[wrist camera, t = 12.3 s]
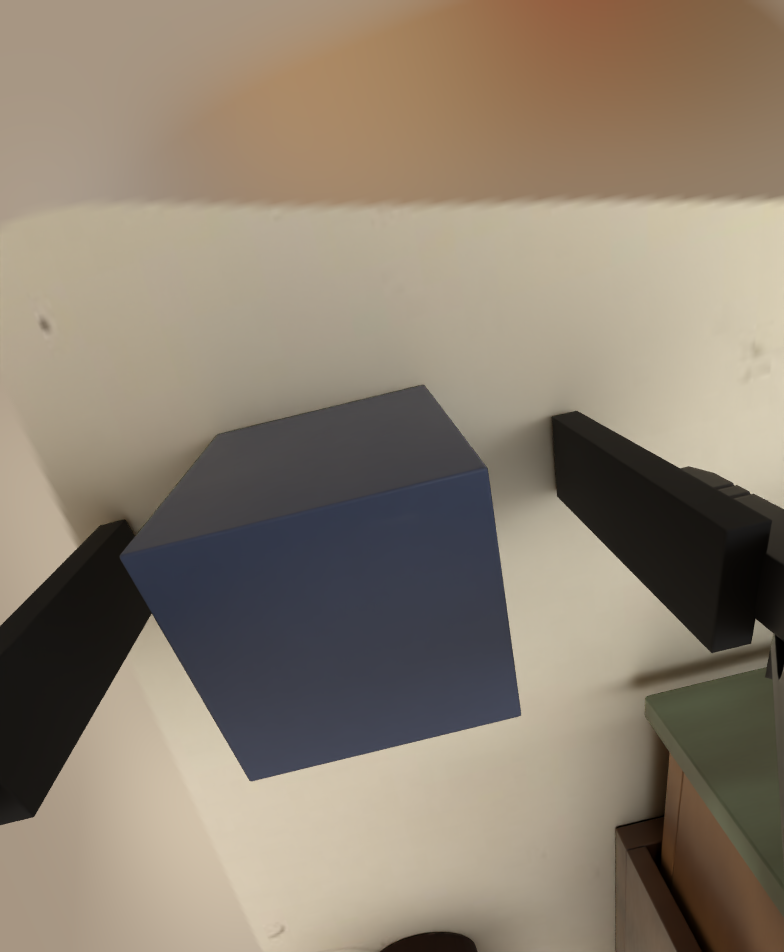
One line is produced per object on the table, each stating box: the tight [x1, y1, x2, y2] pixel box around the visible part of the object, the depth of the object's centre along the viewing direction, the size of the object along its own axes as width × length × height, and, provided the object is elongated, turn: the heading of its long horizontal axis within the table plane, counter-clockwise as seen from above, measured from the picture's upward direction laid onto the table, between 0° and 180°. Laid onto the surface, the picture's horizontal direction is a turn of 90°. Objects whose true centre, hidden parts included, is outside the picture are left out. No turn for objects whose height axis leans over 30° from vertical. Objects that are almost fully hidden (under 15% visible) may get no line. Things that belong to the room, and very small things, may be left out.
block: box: [120, 385, 521, 781], centre depth 11 cm, size 6×6×6 cm
